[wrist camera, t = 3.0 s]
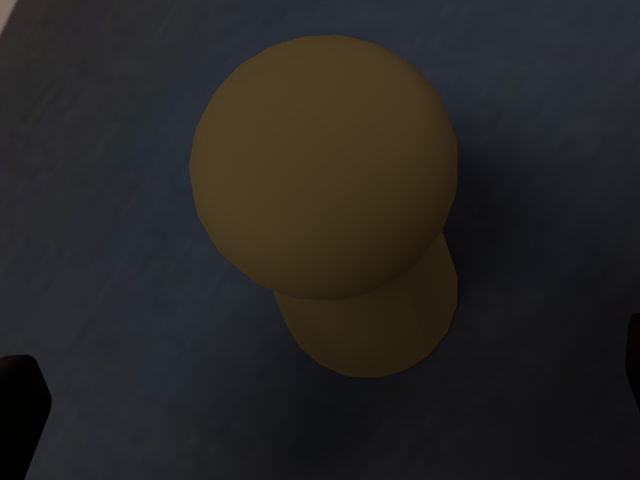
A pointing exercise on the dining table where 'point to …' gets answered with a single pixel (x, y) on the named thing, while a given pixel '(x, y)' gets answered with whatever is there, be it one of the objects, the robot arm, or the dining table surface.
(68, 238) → the dining table surface
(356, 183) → the pepper shaker
